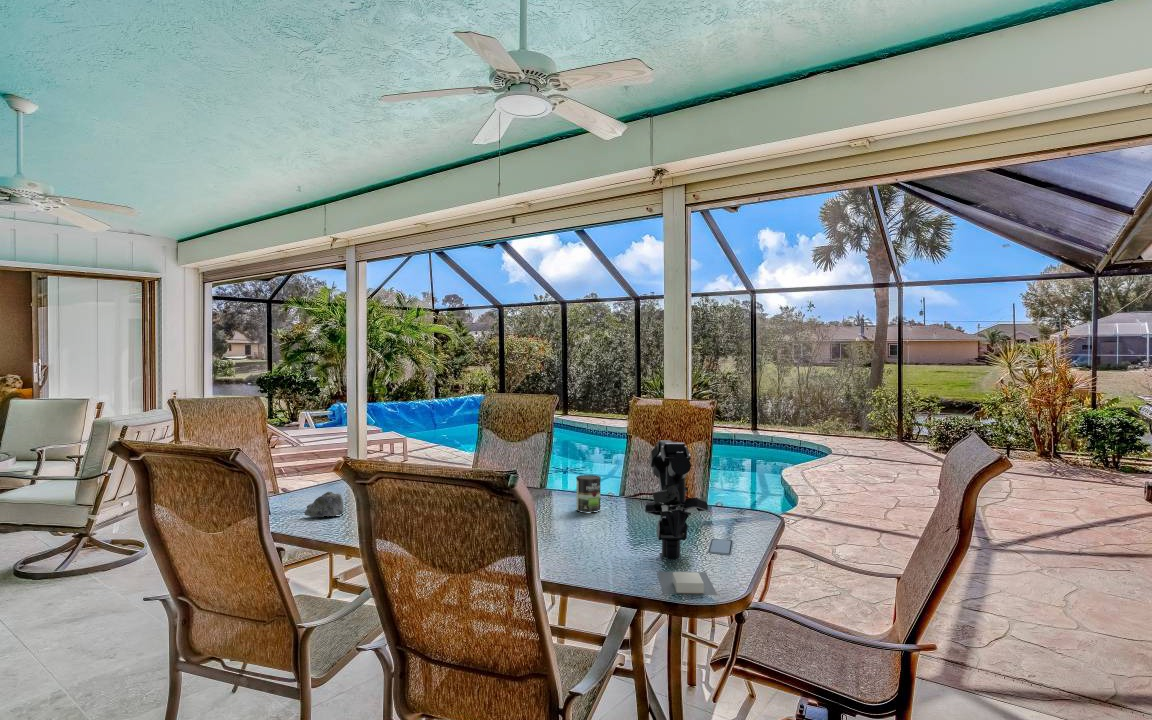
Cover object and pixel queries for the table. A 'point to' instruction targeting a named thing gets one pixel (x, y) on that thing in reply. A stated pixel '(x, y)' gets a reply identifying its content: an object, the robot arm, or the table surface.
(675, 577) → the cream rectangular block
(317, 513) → the mineral rock
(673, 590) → the mat
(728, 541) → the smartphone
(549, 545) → the table surface
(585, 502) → the coffee can
